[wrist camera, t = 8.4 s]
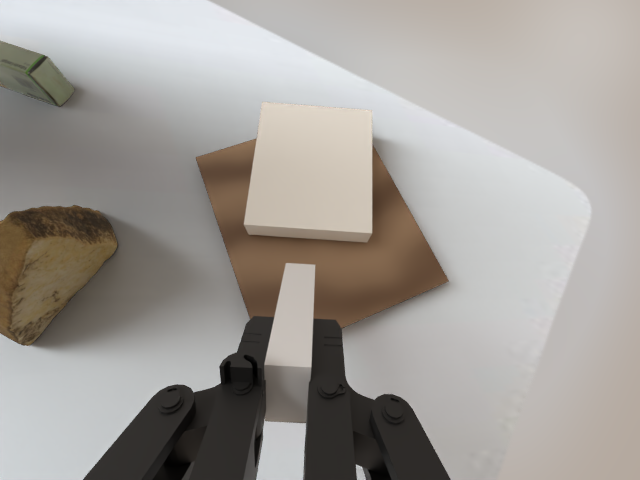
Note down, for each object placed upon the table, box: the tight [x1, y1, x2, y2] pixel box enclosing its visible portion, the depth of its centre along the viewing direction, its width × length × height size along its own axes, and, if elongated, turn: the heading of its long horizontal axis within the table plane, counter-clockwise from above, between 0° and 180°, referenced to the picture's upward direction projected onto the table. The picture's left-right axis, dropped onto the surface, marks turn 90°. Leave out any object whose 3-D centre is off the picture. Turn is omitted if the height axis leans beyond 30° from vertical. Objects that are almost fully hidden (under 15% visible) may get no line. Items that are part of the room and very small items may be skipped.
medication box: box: [0, 41, 75, 107], centre depth 31 cm, size 12×3×4 cm, turn 70°
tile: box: [244, 102, 372, 242], centre depth 27 cm, size 2×10×12 cm
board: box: [196, 139, 448, 328], centre depth 28 cm, size 19×16×1 cm
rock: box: [0, 205, 118, 346], centre depth 23 cm, size 11×9×10 cm
